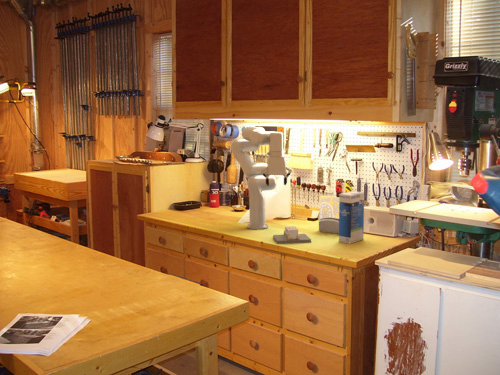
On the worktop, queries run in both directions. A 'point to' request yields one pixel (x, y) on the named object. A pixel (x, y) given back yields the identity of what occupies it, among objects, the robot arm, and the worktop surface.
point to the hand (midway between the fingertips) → (276, 185)
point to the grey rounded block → (329, 224)
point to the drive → (291, 232)
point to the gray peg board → (283, 239)
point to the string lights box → (351, 217)
